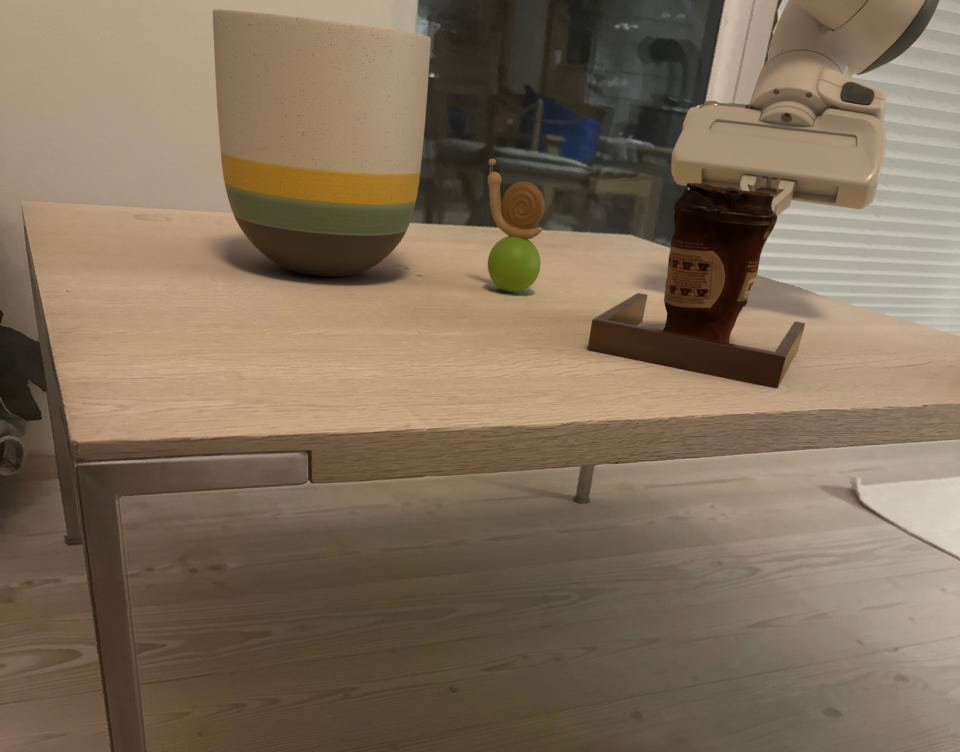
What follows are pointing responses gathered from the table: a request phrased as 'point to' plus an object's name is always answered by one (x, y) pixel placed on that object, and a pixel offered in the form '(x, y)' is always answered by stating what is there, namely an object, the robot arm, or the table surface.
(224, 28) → the planter
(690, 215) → the coffee cup
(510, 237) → the snail figurine
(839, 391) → the table surface
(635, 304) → the corral
